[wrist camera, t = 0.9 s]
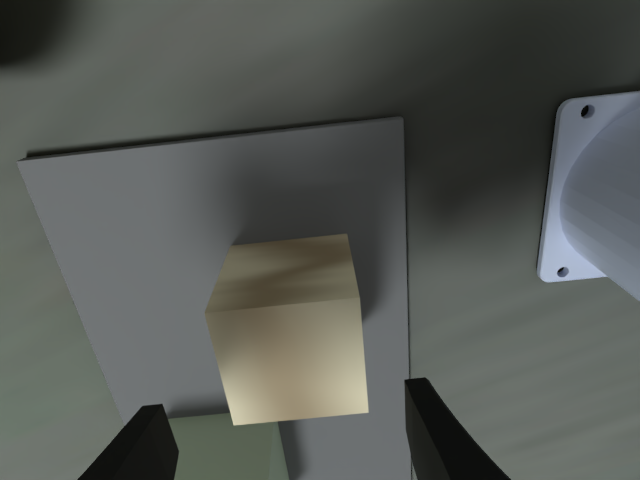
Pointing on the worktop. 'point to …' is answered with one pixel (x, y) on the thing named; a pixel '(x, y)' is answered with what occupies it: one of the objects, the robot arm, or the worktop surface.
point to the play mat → (208, 258)
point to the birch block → (289, 330)
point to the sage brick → (227, 449)
